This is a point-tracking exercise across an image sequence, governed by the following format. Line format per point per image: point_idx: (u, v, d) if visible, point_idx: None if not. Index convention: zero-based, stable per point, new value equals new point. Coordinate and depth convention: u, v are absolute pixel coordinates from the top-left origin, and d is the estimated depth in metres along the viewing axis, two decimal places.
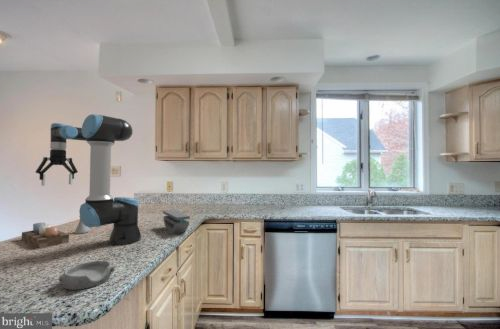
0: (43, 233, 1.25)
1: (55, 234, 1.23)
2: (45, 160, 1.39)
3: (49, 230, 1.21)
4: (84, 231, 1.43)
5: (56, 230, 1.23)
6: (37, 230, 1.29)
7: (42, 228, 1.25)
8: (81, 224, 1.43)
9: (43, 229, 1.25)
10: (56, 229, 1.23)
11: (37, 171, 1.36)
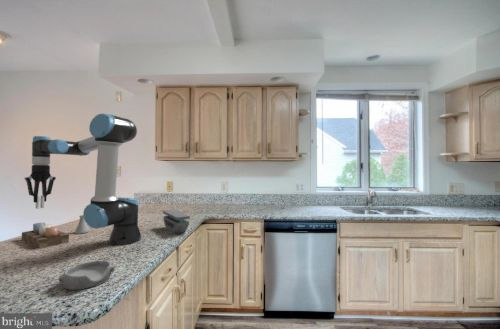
0: (43, 233, 1.25)
1: (55, 234, 1.23)
2: (29, 181, 1.27)
3: (49, 230, 1.21)
4: (84, 231, 1.43)
5: (56, 230, 1.23)
6: (37, 230, 1.29)
7: (42, 228, 1.25)
8: (81, 224, 1.43)
9: (43, 229, 1.25)
10: (56, 229, 1.23)
11: (30, 194, 1.28)
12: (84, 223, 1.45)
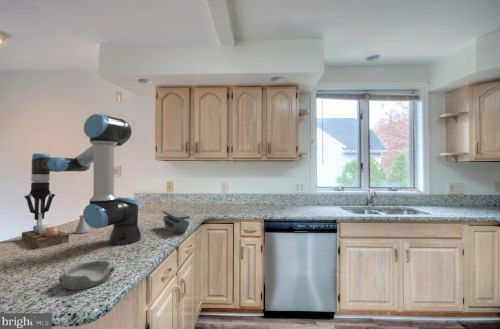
0: (43, 233, 1.25)
1: (55, 234, 1.23)
2: (28, 199, 1.27)
3: (49, 230, 1.21)
4: (84, 231, 1.43)
5: (56, 230, 1.23)
6: (37, 232, 1.29)
7: (42, 228, 1.25)
8: (81, 224, 1.43)
9: (43, 229, 1.25)
10: (56, 229, 1.23)
11: (31, 212, 1.28)
12: (84, 223, 1.45)
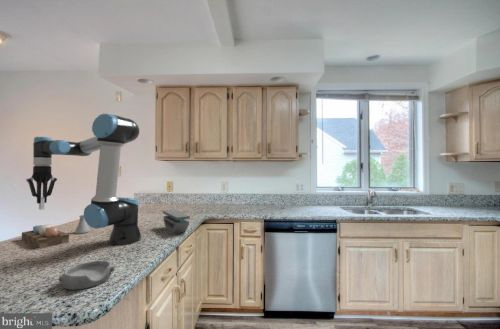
0: (43, 233, 1.25)
1: (55, 234, 1.23)
2: (31, 182, 1.26)
3: (49, 230, 1.21)
4: (84, 231, 1.43)
5: (56, 230, 1.23)
6: None
7: (42, 228, 1.25)
8: (81, 224, 1.43)
9: (43, 229, 1.25)
10: (56, 229, 1.23)
11: (34, 195, 1.27)
12: (84, 223, 1.45)
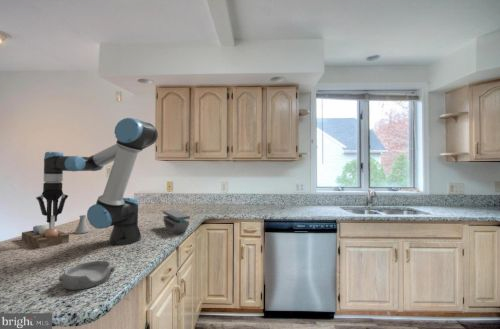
0: (43, 233, 1.25)
1: (55, 235, 1.23)
2: (41, 200, 1.19)
3: (49, 231, 1.21)
4: (84, 231, 1.43)
5: (56, 231, 1.23)
6: None
7: (42, 228, 1.25)
8: (81, 224, 1.43)
9: (43, 229, 1.25)
10: (56, 230, 1.23)
11: (44, 214, 1.20)
12: (84, 223, 1.45)
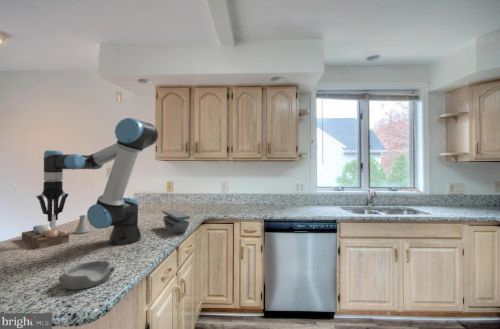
0: (43, 233, 1.25)
1: None
2: (41, 199, 1.19)
3: (49, 233, 1.21)
4: (84, 231, 1.43)
5: (56, 233, 1.23)
6: None
7: (42, 228, 1.25)
8: (81, 224, 1.43)
9: (43, 229, 1.25)
10: (56, 232, 1.23)
11: (45, 213, 1.20)
12: (84, 223, 1.45)
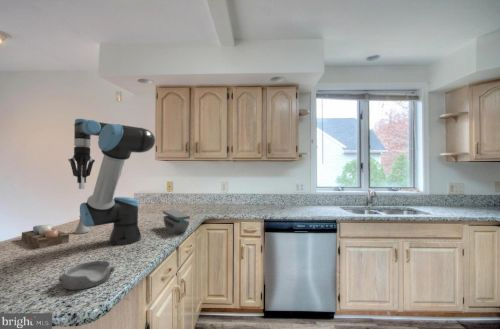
0: (43, 233, 1.25)
1: None
2: (73, 162, 1.31)
3: (49, 233, 1.21)
4: (84, 231, 1.43)
5: (56, 233, 1.23)
6: None
7: (42, 228, 1.25)
8: (81, 224, 1.43)
9: (43, 229, 1.25)
10: (56, 232, 1.23)
11: (75, 175, 1.32)
12: None
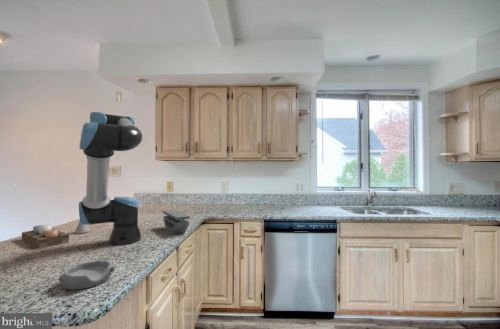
0: (43, 233, 1.25)
1: None
2: None
3: (49, 233, 1.21)
4: (84, 231, 1.43)
5: (56, 233, 1.23)
6: None
7: (42, 228, 1.25)
8: (81, 224, 1.43)
9: (43, 229, 1.25)
10: (56, 232, 1.23)
11: None
12: None
